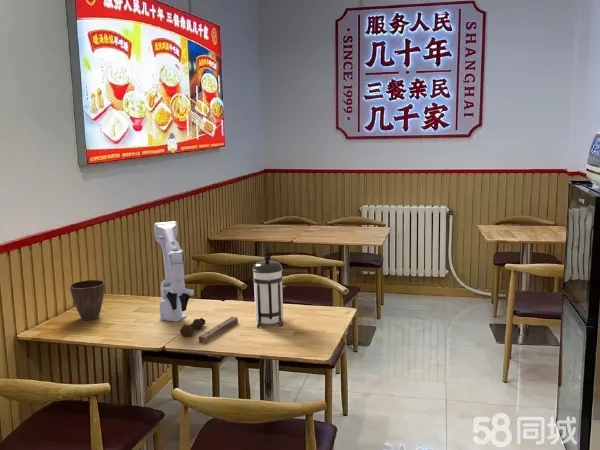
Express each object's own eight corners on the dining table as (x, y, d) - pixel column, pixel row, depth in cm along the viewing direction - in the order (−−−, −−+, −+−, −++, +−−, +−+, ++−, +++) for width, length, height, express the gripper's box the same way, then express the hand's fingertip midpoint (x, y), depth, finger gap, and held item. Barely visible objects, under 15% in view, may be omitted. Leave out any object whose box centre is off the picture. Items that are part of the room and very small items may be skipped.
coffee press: (243, 325, 253) (240, 257, 248) (269, 315, 264) (267, 250, 259) (271, 333, 241) (268, 262, 236) (298, 323, 252) (295, 255, 247)
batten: (199, 342, 233) (198, 336, 233) (231, 322, 257) (231, 316, 256) (205, 343, 232) (205, 337, 232) (237, 322, 256) (237, 316, 255)
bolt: (204, 329, 254) (187, 340, 240) (195, 323, 255) (177, 334, 241) (210, 319, 252) (193, 329, 238) (200, 312, 253) (183, 322, 239)
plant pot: (68, 317, 270) (65, 283, 267) (100, 310, 279) (97, 278, 276) (78, 325, 258) (75, 290, 255) (111, 318, 267) (109, 284, 264)
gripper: (157, 280, 245) (159, 311, 248) (186, 282, 240) (188, 314, 242) (167, 275, 252) (169, 306, 254) (195, 278, 246) (197, 309, 248)
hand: (179, 310), depth 248 cm, fingers open, 4 cm apart
